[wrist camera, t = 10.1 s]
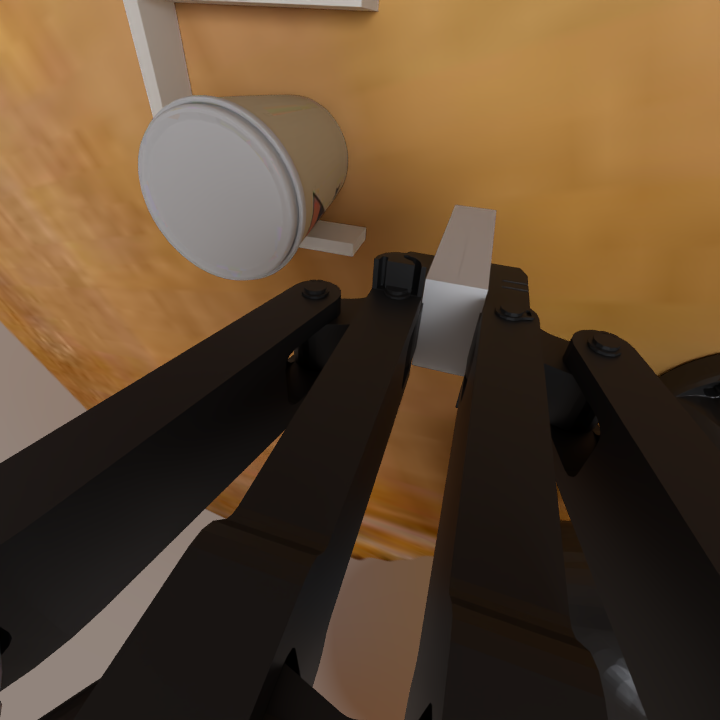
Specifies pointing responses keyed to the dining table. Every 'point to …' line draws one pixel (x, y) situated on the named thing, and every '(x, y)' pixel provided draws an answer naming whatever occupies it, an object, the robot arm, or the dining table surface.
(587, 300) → the dining table surface
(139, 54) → the frame
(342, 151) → the coffee cup
